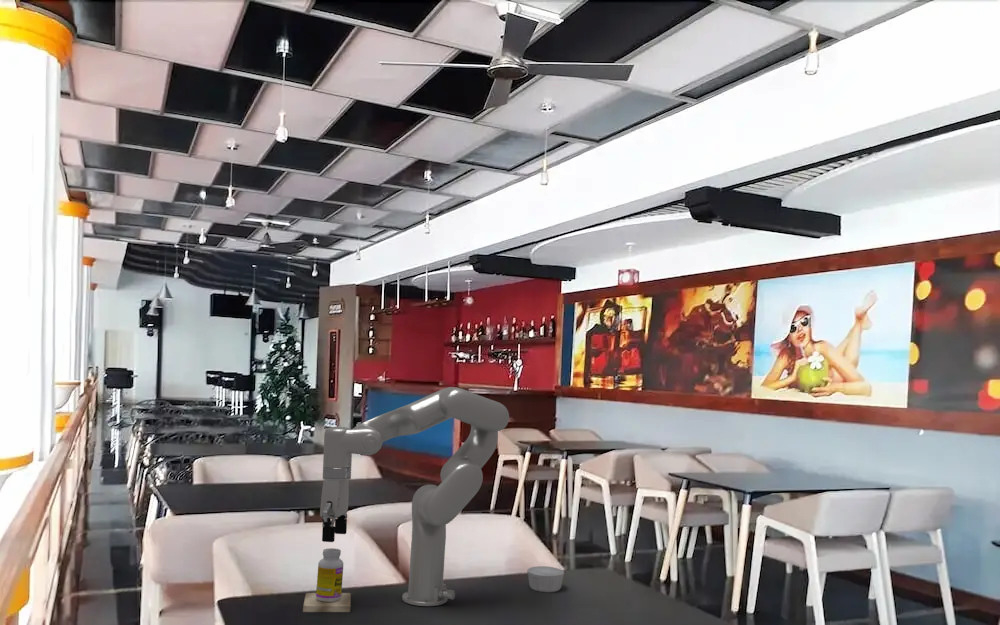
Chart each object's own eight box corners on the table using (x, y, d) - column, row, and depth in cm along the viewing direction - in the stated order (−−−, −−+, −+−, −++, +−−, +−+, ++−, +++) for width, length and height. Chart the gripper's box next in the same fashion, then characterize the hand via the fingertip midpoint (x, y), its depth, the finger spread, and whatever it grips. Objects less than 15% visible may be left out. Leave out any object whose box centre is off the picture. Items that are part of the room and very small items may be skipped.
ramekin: (524, 591, 237) (525, 573, 237) (529, 581, 248) (529, 564, 248) (561, 595, 235) (562, 577, 235) (564, 585, 246) (565, 568, 246)
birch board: (350, 598, 219) (350, 593, 219) (350, 612, 208) (350, 606, 208) (305, 598, 217) (306, 592, 217) (302, 612, 205) (303, 606, 206)
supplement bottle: (335, 604, 209) (338, 554, 210) (311, 601, 210) (315, 551, 211) (344, 597, 215) (348, 548, 216) (322, 594, 217) (325, 546, 217)
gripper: (334, 468, 224) (331, 530, 223) (311, 477, 207) (309, 544, 206) (360, 469, 223) (357, 531, 222) (339, 478, 206) (337, 545, 205)
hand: (334, 537), depth 214 cm, fingers open, 9 cm apart
